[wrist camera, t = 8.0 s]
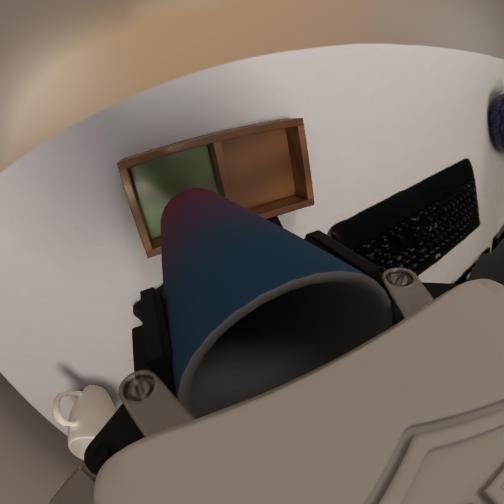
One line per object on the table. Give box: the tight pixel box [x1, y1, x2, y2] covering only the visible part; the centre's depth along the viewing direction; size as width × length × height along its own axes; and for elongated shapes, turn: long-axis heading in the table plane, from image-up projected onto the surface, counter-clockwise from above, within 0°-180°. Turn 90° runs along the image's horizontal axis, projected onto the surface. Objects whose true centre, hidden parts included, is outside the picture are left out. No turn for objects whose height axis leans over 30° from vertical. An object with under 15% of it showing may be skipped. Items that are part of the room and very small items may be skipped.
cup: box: [161, 188, 393, 419], centre depth 14 cm, size 7×7×15 cm
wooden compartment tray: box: [117, 118, 314, 258], centre depth 31 cm, size 10×20×4 cm, turn 101°
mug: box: [52, 385, 117, 460], centre depth 31 cm, size 12×8×11 cm
